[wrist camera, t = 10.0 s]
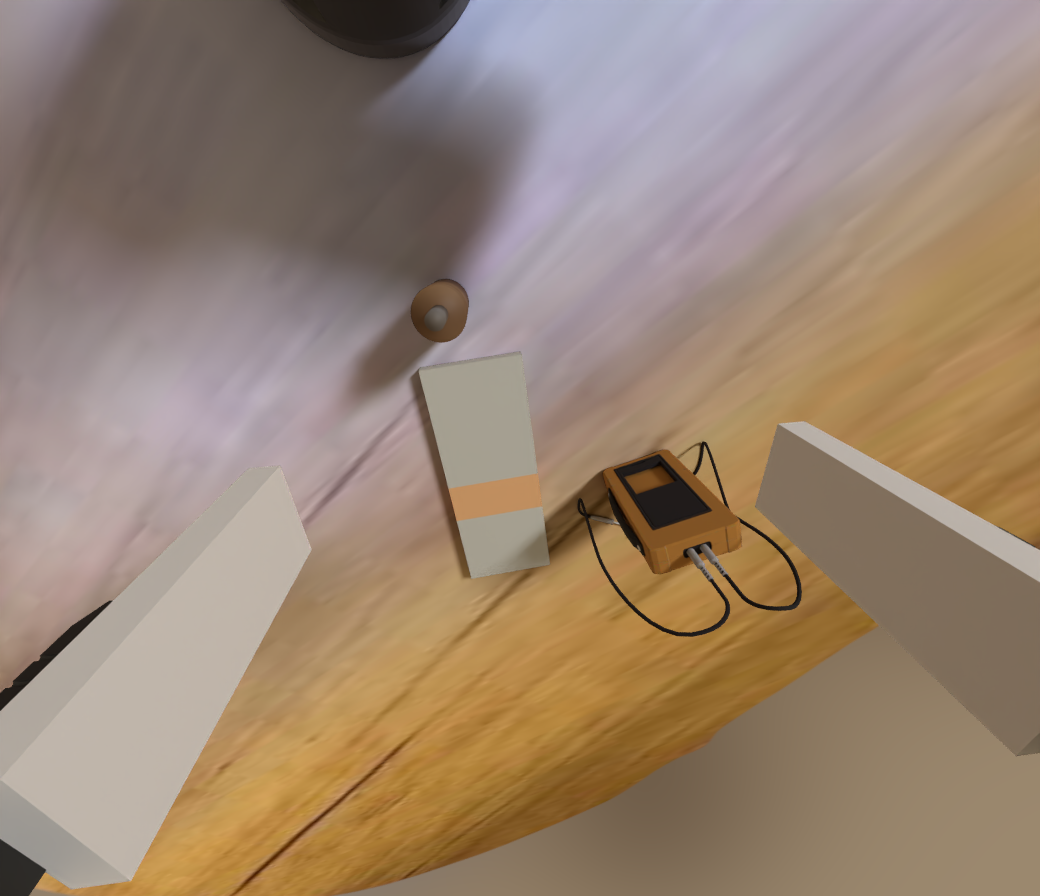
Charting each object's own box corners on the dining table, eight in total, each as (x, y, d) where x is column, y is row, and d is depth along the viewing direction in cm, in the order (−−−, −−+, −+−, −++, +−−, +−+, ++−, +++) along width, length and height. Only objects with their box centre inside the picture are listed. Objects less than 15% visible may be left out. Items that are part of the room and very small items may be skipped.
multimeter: (589, 549, 46) (661, 733, 28) (567, 480, 42) (635, 646, 24) (712, 509, 46) (865, 672, 28) (702, 434, 41) (876, 570, 23)
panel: (420, 367, 35) (418, 371, 34) (520, 351, 36) (521, 354, 35) (471, 571, 46) (471, 578, 45) (548, 557, 46) (550, 564, 45)
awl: (420, 282, 32) (395, 293, 23) (464, 275, 33) (458, 283, 23) (430, 327, 34) (412, 356, 24) (472, 321, 34) (470, 346, 24)
